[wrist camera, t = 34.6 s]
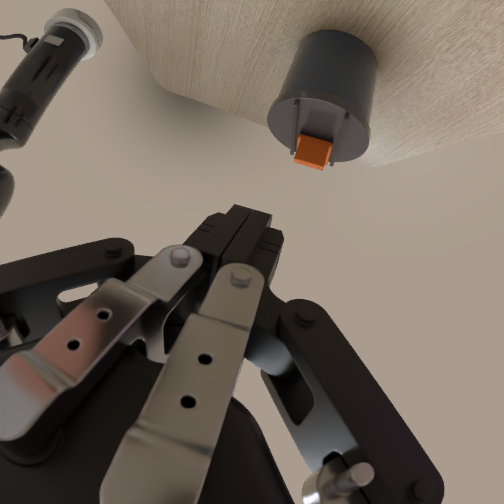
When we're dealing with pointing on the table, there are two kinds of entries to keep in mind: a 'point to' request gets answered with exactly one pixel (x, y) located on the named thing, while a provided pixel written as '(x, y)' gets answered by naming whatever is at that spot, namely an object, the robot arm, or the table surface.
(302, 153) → the lid slider
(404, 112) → the table surface
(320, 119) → the travel cup
